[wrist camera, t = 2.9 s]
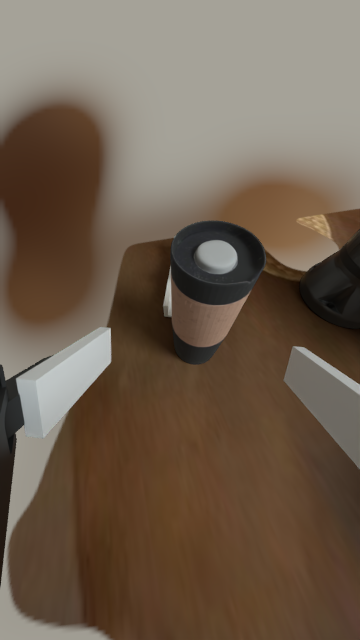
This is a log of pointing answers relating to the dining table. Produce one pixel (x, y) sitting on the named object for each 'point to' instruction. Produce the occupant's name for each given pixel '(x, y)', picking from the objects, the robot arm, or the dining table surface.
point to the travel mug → (210, 284)
